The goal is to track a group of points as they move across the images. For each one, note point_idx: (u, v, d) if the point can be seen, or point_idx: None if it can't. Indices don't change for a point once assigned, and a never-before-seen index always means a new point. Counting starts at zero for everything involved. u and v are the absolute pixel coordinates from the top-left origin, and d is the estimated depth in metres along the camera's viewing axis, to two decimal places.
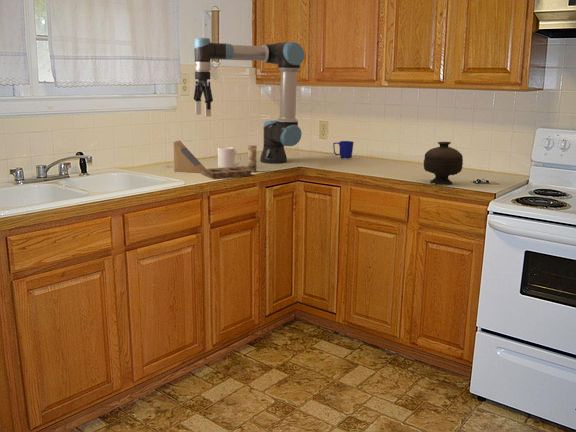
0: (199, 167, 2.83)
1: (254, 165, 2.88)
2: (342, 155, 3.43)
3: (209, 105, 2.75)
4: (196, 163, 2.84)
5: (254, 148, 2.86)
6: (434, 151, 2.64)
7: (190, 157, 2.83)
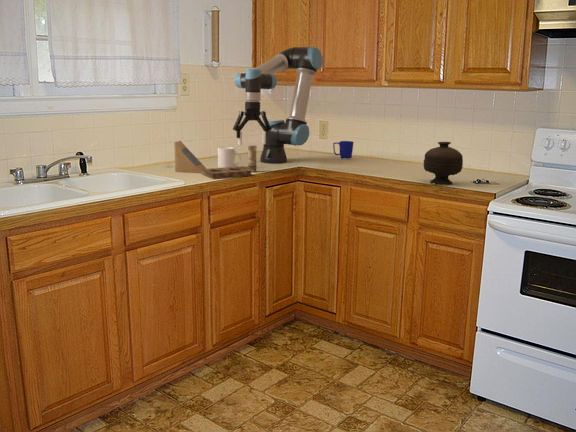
0: (200, 167, 2.83)
1: (254, 165, 2.88)
2: (342, 155, 3.43)
3: (237, 134, 2.81)
4: (197, 163, 2.84)
5: (254, 148, 2.86)
6: (434, 151, 2.64)
7: (191, 157, 2.83)
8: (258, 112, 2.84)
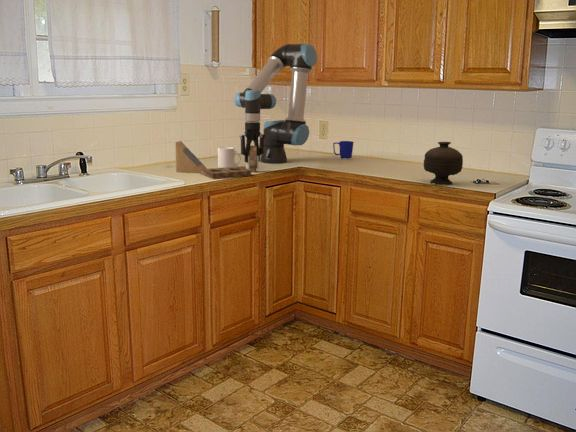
0: (201, 167, 2.83)
1: (254, 165, 2.88)
2: (342, 155, 3.43)
3: (245, 158, 2.87)
4: (198, 163, 2.83)
5: (254, 148, 2.86)
6: (434, 151, 2.64)
7: (192, 157, 2.83)
8: (258, 132, 2.86)
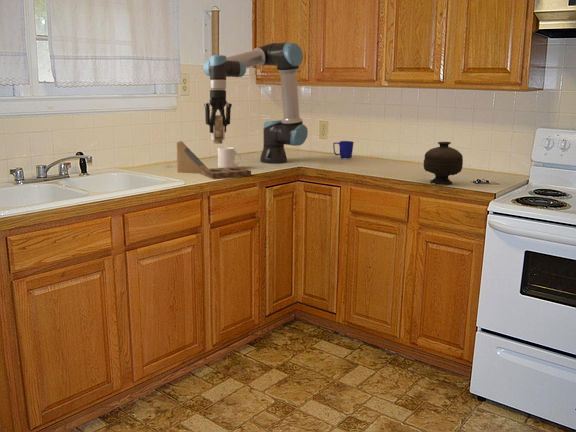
0: (202, 167, 2.82)
1: (220, 136, 2.71)
2: (342, 155, 3.43)
3: (210, 128, 2.69)
4: (199, 163, 2.83)
5: (220, 117, 2.69)
6: (434, 151, 2.64)
7: (193, 157, 2.83)
8: (224, 101, 2.69)
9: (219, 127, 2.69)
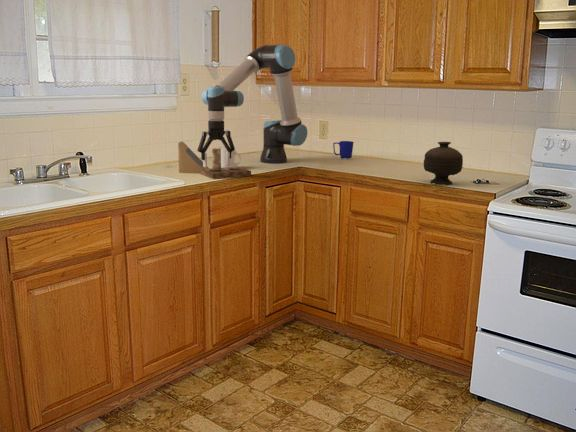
0: (204, 168, 2.82)
1: (218, 169, 2.74)
2: (342, 155, 3.43)
3: (202, 155, 2.70)
4: (201, 163, 2.83)
5: (218, 151, 2.72)
6: (434, 151, 2.64)
7: (195, 158, 2.82)
8: (222, 131, 2.72)
9: (218, 160, 2.73)
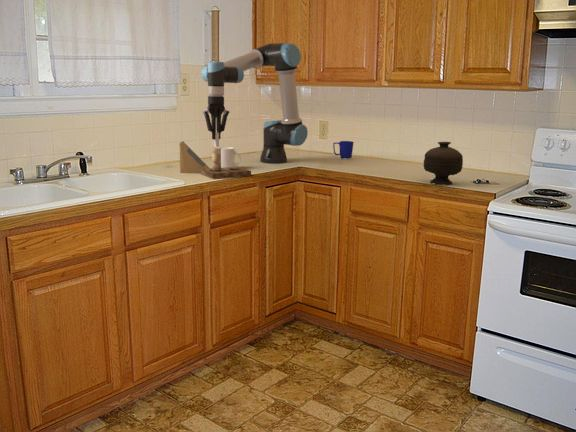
0: (205, 168, 2.83)
1: (218, 169, 2.74)
2: (342, 155, 3.43)
3: (212, 135, 2.70)
4: (202, 163, 2.83)
5: (218, 151, 2.72)
6: (434, 151, 2.64)
7: (196, 158, 2.82)
8: (223, 107, 2.69)
9: (218, 160, 2.73)
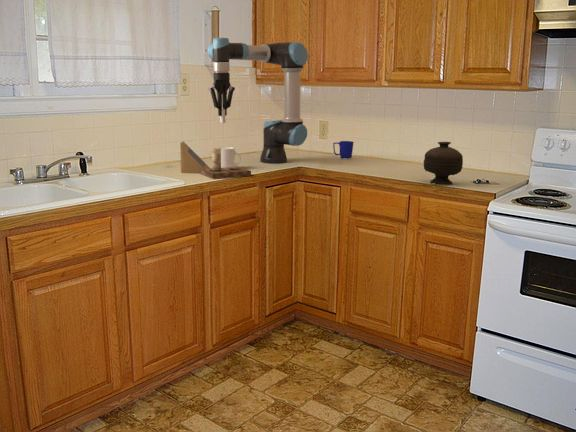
0: (206, 168, 2.83)
1: (218, 169, 2.74)
2: (342, 155, 3.43)
3: (219, 111, 2.73)
4: (203, 163, 2.83)
5: (218, 151, 2.72)
6: (434, 151, 2.64)
7: (197, 158, 2.82)
8: (228, 83, 2.71)
9: (218, 160, 2.73)
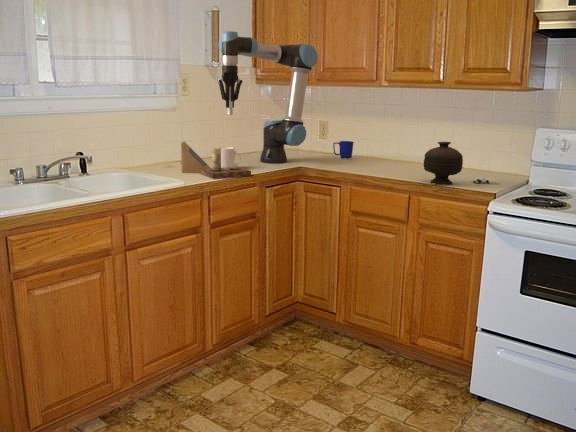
0: (207, 167, 2.83)
1: (218, 169, 2.74)
2: (342, 155, 3.43)
3: (226, 103, 2.79)
4: (204, 163, 2.84)
5: (218, 151, 2.72)
6: (434, 151, 2.64)
7: (198, 157, 2.83)
8: (236, 76, 2.78)
9: (218, 160, 2.73)
